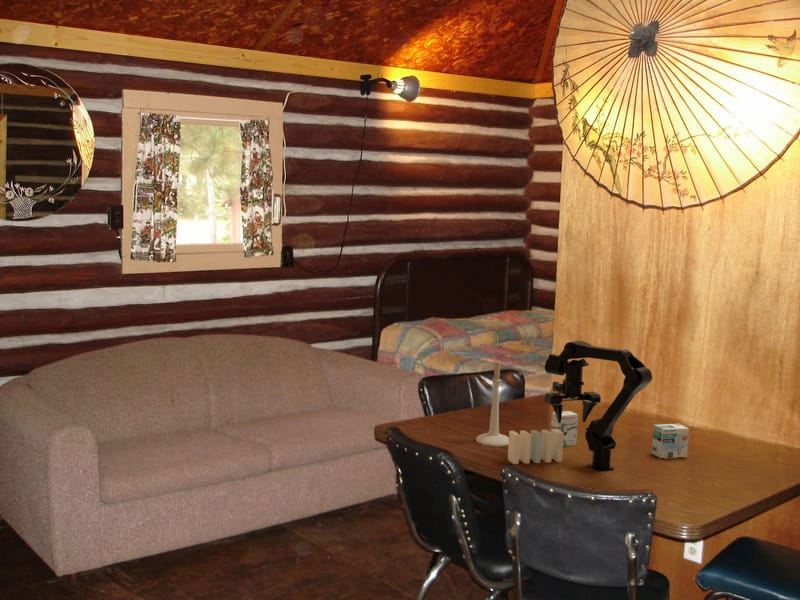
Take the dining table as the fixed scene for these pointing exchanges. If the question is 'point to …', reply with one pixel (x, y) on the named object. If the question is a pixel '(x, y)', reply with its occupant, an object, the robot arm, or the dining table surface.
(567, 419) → the ink box
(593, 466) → the robot arm
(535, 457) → the domino
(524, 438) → the domino
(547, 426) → the dining table surface
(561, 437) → the domino
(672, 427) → the light bulb box
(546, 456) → the domino
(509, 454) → the domino
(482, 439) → the candlestick
